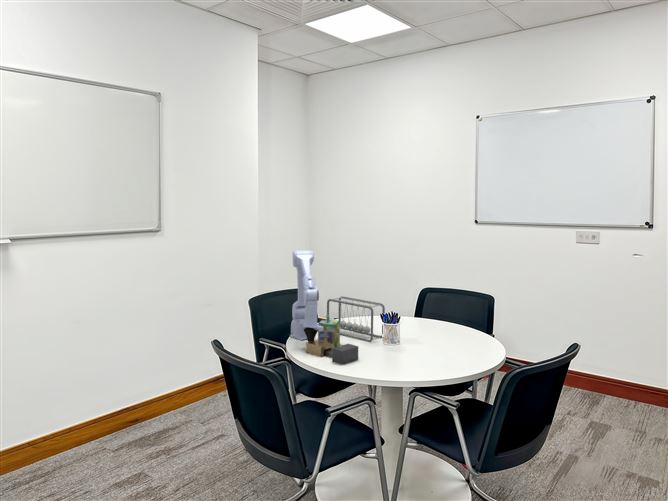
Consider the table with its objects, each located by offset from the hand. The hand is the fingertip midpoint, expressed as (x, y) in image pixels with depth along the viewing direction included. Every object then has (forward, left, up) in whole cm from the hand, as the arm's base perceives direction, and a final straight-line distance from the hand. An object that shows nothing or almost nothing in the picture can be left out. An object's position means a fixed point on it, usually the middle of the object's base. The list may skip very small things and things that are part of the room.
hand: (310, 343), depth 236 cm
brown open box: (+6, 0, -3) cm, 7 cm away
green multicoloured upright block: (+1, +11, -3) cm, 11 cm away
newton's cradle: (-3, +34, -3) cm, 34 cm away
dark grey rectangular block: (+19, 0, -3) cm, 19 cm away
